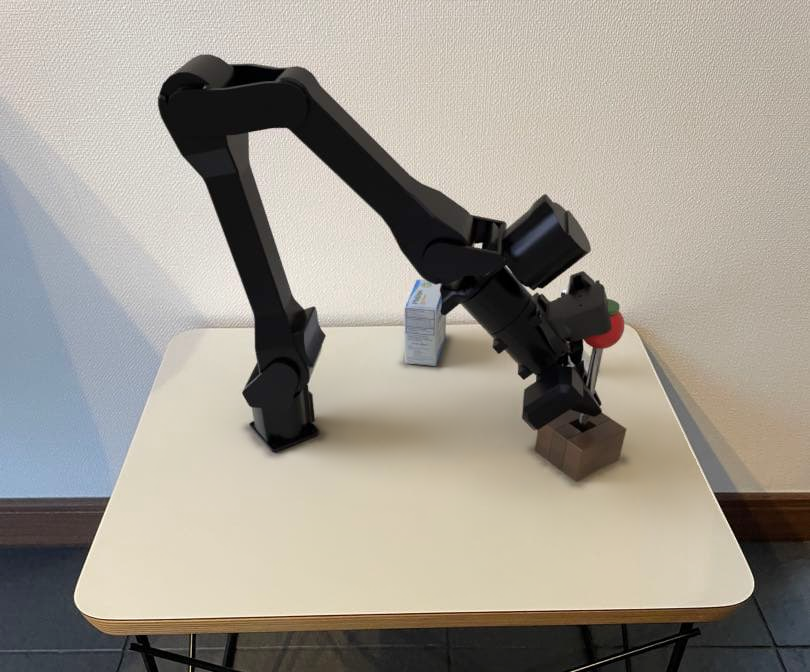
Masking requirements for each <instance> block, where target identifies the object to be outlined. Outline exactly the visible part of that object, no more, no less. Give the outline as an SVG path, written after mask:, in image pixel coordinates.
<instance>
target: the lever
mask: <svg viewBox="0 0 810 672" xmlns="http://www.w3.org/2000/svg"><path fill="white" fill-rule="evenodd" d="M607 302H608V312H609V315H610V318H611V325H612V329H611V330H610V331H609V332H607V333H605V334H603V335H594V336H590V337H587V338H584V339H583V342H585V344H587V346H589V347H591V353H590V356H591V359H590V364H589V369H588V372H587V379H586V385H587V387H588V388H589V390H590V391H591V393H592V394H593V396H594V392H595V390H596V386H597V382H598V377H599V373H600V366H601V362H602V357H603V352H604V349H605V350H606V349H609V348H611V347H613V346H614V345H616V344H617V343H618V342H620V340H621V338H622V337H623V334H624V331H625V318H624V316H623V314H622V313H621V311H620V307H621V306H620V304H619V302H618V301H616V300H615V299H610V298H607ZM588 421H589V415H586V414H583V413H580V415H579V420H578V426H577V429H578V430H579V431H581V432H582V433H583V432H585V431H586V430H587V426H588Z"/></svg>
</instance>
